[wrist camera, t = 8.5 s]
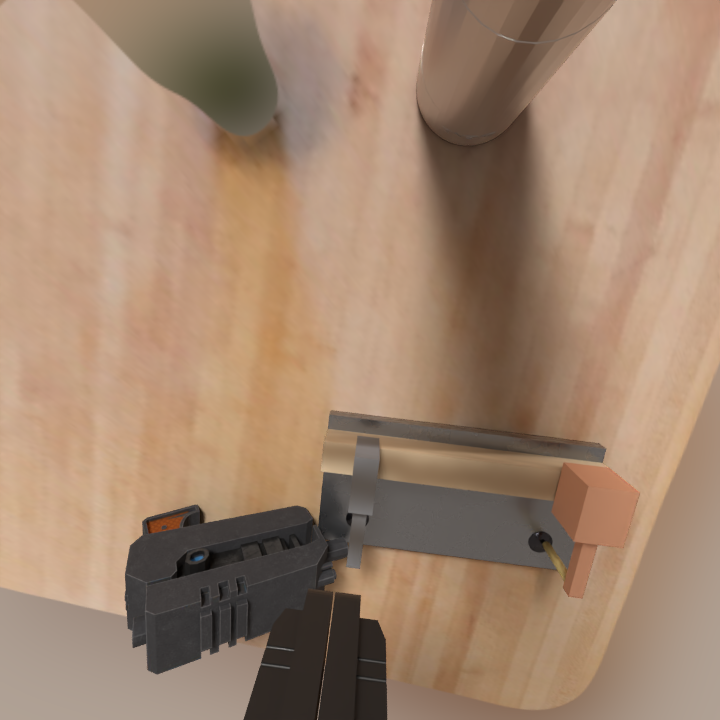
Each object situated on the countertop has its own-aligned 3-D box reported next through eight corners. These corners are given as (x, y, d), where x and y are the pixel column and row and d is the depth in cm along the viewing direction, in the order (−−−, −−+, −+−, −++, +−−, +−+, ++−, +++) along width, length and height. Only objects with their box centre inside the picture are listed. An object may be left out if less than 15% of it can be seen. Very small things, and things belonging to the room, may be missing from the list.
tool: (132, 501, 38) (115, 626, 25) (311, 471, 47) (368, 552, 34) (134, 552, 39) (120, 697, 26) (308, 514, 48) (361, 608, 35)
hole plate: (330, 410, 38) (329, 414, 36) (599, 443, 37) (606, 449, 36) (318, 530, 41) (317, 538, 39) (566, 563, 40) (572, 572, 39)
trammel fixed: (328, 419, 37) (317, 452, 30) (604, 453, 36) (659, 495, 29) (319, 517, 39) (306, 569, 32) (578, 551, 38) (623, 612, 31)
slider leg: (549, 447, 36) (588, 486, 29) (590, 452, 36) (640, 492, 29) (525, 546, 38) (557, 603, 31) (564, 551, 38) (604, 609, 31)
